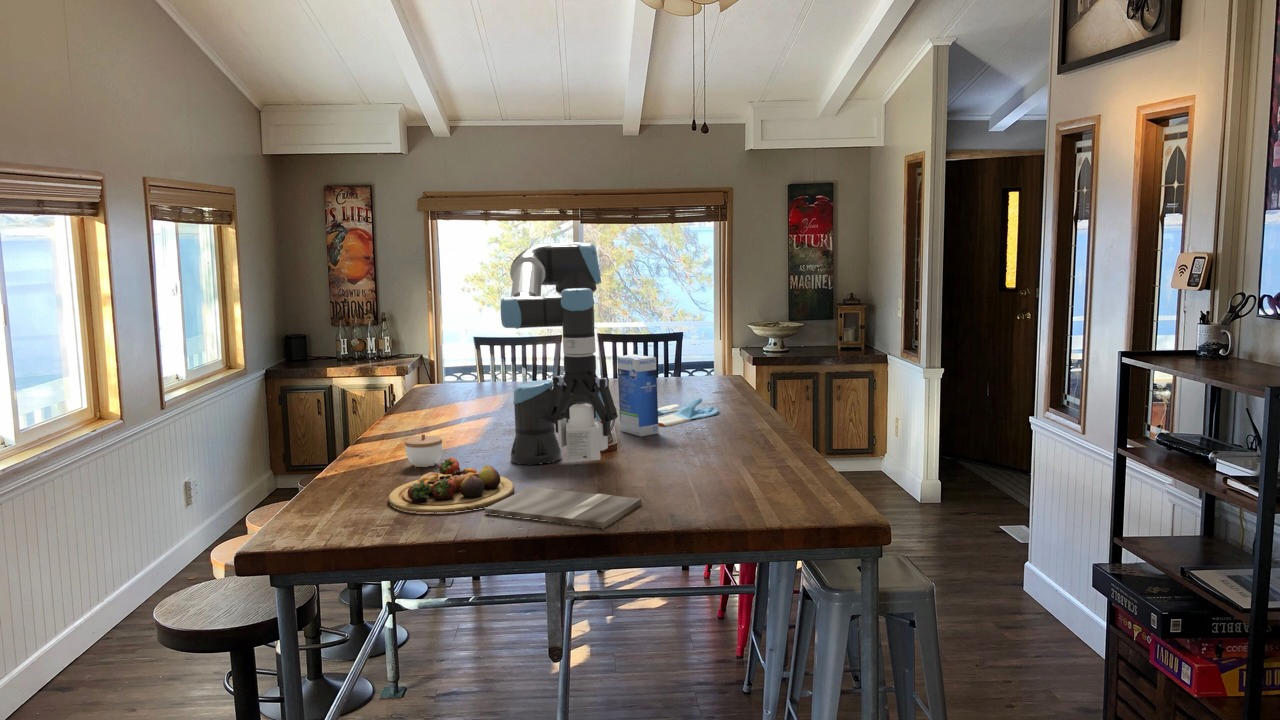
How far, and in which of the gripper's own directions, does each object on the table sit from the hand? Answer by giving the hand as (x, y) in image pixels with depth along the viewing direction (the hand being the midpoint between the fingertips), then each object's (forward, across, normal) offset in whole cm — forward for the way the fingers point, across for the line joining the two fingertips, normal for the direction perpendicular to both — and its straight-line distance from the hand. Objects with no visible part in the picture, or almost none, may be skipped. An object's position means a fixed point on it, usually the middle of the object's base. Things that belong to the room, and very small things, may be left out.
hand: (583, 447), depth 214 cm
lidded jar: (+16, -68, +25) cm, 74 cm away
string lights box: (+16, -27, +86) cm, 92 cm away
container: (+2, 0, 0) cm, 2 cm away
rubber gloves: (+16, -29, +117) cm, 122 cm away
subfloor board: (+16, -6, 0) cm, 17 cm away
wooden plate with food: (+16, -40, 0) cm, 43 cm away
